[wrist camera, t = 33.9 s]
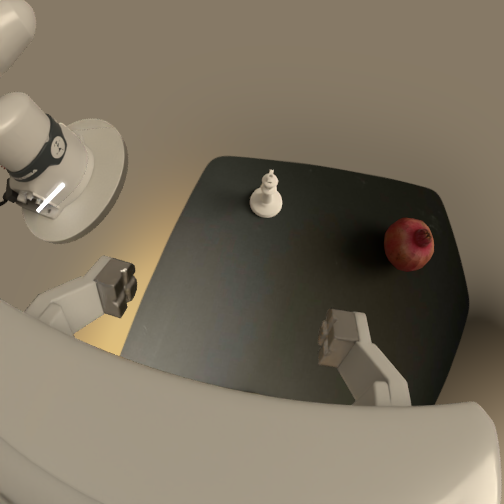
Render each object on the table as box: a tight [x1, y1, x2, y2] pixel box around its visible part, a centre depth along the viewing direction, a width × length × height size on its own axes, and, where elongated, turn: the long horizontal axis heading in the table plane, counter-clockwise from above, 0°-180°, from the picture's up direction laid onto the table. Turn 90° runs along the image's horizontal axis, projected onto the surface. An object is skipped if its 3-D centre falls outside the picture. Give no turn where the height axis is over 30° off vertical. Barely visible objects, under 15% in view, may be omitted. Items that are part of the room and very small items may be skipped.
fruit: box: [384, 218, 434, 272], centre depth 37 cm, size 8×8×10 cm
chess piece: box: [250, 170, 282, 218], centre depth 38 cm, size 5×5×10 cm
